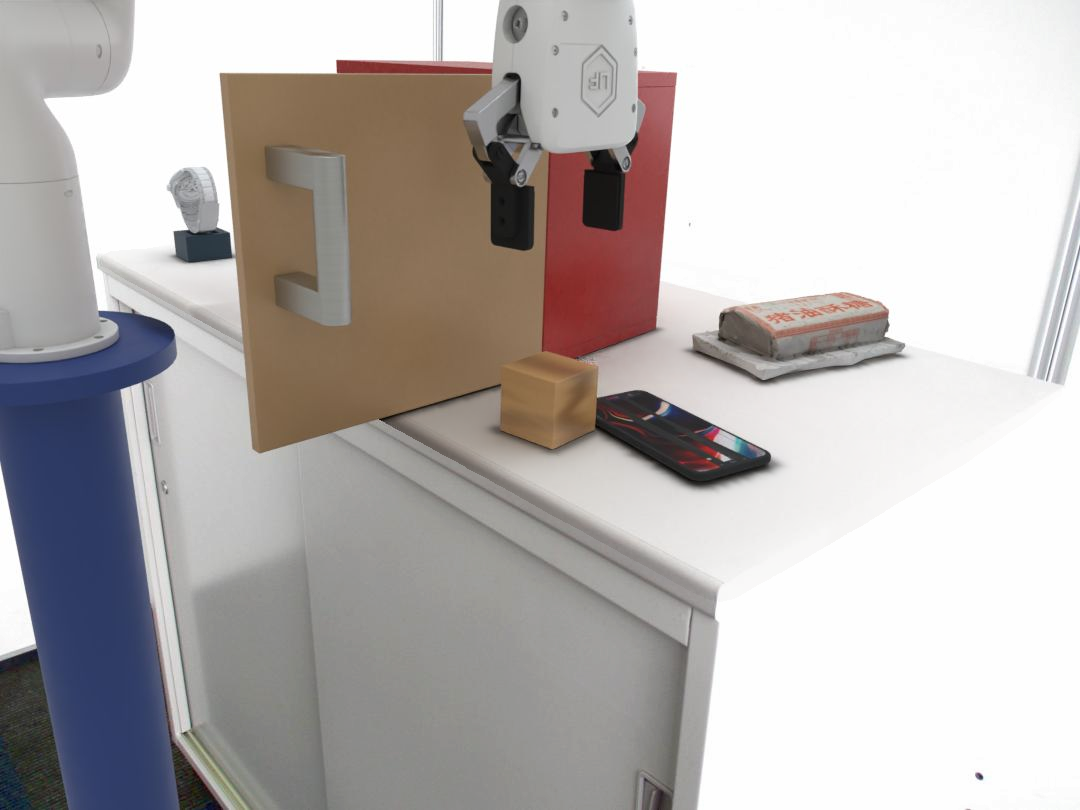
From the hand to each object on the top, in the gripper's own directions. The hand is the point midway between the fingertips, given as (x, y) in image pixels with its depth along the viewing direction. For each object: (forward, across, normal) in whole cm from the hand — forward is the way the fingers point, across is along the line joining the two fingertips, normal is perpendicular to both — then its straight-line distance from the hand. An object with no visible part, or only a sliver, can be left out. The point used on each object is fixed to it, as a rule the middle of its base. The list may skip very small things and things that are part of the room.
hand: (559, 237), depth 63 cm
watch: (+14, +13, +68) cm, 70 cm away
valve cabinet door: (+14, -4, +7) cm, 16 cm away
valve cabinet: (+14, +19, +22) cm, 33 cm away
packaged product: (+15, +31, -5) cm, 34 cm away
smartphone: (+14, +5, -6) cm, 17 cm away
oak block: (+14, 0, 0) cm, 14 cm away
